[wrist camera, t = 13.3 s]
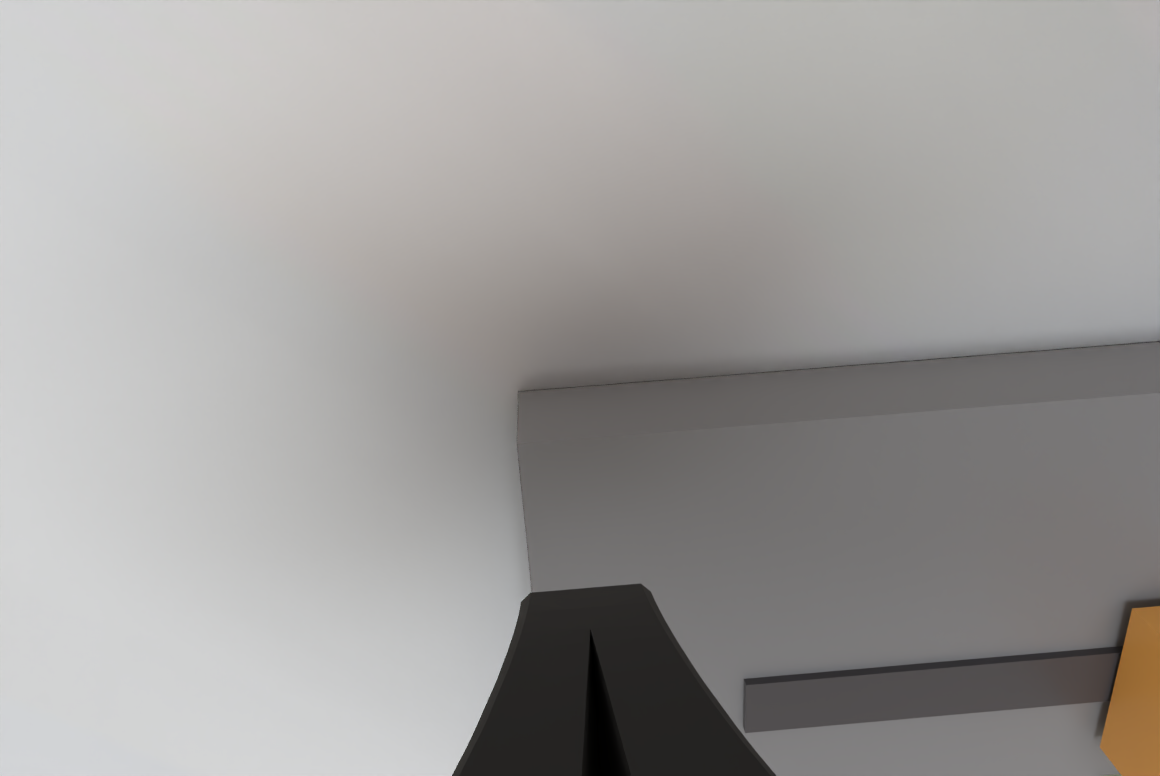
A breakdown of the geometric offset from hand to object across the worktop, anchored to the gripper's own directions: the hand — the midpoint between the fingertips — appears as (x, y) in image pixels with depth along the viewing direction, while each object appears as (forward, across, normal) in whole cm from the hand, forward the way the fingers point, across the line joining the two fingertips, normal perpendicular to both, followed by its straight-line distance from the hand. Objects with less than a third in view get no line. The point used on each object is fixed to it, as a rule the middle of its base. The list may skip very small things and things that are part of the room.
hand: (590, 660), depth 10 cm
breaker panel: (+10, -8, +8) cm, 15 cm away
